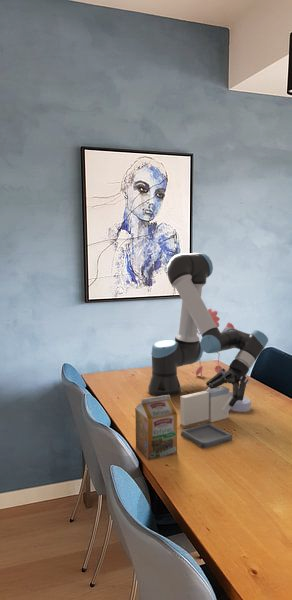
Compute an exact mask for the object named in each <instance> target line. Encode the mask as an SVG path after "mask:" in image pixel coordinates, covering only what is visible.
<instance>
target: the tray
mask: <svg viewBox="0 0 292 600" xmlns="http://www.w3.org/2000/svg"><path fill="white" fill-rule="evenodd" d="M180 436H182V437H184V438H185V439H187V440H188V441H190V442H192V443H193V444H195V445H197V446H198V447H200V448H202V449H203V450H204V449H207V448H210V447H214V446H217V445H220V444H223V443H226V442H227V443H228V442H229V441H233V434H231V433H229V432H228V431H225V430H224V429H222V428H220V427H218V426H216V425H214V424H212V423H211V422H208V423H204V424H200V425H197V426H193V427H189V428H186V429H181V433H180Z"/></svg>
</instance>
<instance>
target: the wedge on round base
mask: <svg viewBox="0 0 292 600" xmlns="http://www.w3.org/2000/svg"><path fill="white" fill-rule="evenodd" d="M231 396H232V397H233V391H232V392H230V391H229V398H230V397H231ZM251 401H252V400H251V399H250V398H248V397H245V396H244V397H243V400H242V401H241V400H238V401H236V403H235V404H234V406H233V407H231V409H230V411H233V412H237V413H239V412H240V413H241V412H243V413H244V412H248V411H251V409H252V408H251Z"/></svg>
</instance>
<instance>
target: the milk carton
mask: <svg viewBox="0 0 292 600" xmlns="http://www.w3.org/2000/svg"><path fill="white" fill-rule="evenodd" d="M134 412H135V448H136V449H137V450H138V452H140V454H141V455H142V456H143V457H144V458H145V459H146V460H147V461H152V460H157V459H158V460H159V459H163V458H166V457H171V456H177V455H178V413H177V409H176V408H175V406H174V403H173V402H172V399H171V396H170V395H164V396H153V397H151V396H150V397H147V398H145V397H144V398H142V399H141V400H140V403H139V404H137V405H136V407H135V411H134Z"/></svg>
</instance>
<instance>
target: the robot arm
mask: <svg viewBox="0 0 292 600" xmlns="http://www.w3.org/2000/svg"><path fill="white" fill-rule="evenodd" d="M213 269H214V265H213V262H212V260H211V258H210V256H208V254H206V253H203V252H202V253H201V252H200V253H199V252H193V253H190V252H189V253H178V254H177V253H176V254H175V255H174V256H172V257H171V258H170V260H169V262H168V264H167V269H166V273H167V278H168V281H169V283H170V285H171V287H172V288H174V289H176V292H177V293H178V295H179V296H180V299H181V309H180V310H181V311H180V318H179V329H178V333H177V334H175V337H174V340H171V339H165V340H159V341H155V342H154V344H152V347H151V377H150V379H149V380H150V381H149V384H148V393H149V394H150V395H153V396H156V397H158V396H164V395H170V397H171V396H176V395H179V394H180V393H181V389H182V388H181V384H180V383H181V382H180V380H179V378H178V369H177V368H180V367H183V366H186V365H187V366H188V365H192V364H194V363H197V362H200V361H201V358H202V356H203V354H204V353H206V354H218V353H220V352H222V351H228V350H233V349H238V350H239V351H238V352H237V354H236V355H235V357H234V359H233V360H232V361H231V362H230V364H229V365H228V366H229V368H228V370H226V369H225V368H223V367H222V370H221V371H220V372H219V373H216V374H215V375H214V376H212V377H211V378H210V379H209V380H207V381H206V382H205V385H206V386H207V388H206V389H205V390H208V389H213V388H217V387H221V386H222V385H224V384H231V385H232V392H233V397H232V396H231V397H230V398H229V400H228V401H227V403H226V404H225V406H224V407H223V409H222V411H223V412H224V413H225V414H227V413H228V412H230V411H231V407H233V406H234V404H235V403H236V401H238V400H241V401H242V400H243V397H245V391H246V388H247V384H248V382H249V378H248V377H247V374H248V373H249V371H250V369H251V368H252V367H253V365H254V364H255V362H256V360H257V359H258V357H259V356H260V355H261V353H262V352H263V351H264V350H265V348H266V346H267V344H268V342H269V338H268V336H267V335H266V334H265V333H264V332H262V331H260V330H257V329H255V330H253V331H252V332H251V333H246V332H244V331H241V330H238V329H237V328H235V327H234V328H227V327H226V329H225V330H224V329H223V330H222V331H223V332H222V331H220V329H219V327H217V326H216V324H215V322H214V320H213V319H212V317H211V315H210V313H209V311H208V308H207V306H206V304H205V303H204V301H203V299H202V294H203V293H202V291H203V286H205V285H206V284H207V278H209V277H211V275H212V273H213V271H214V270H213ZM197 330H198V332H199V333H200V334H199V335H201V339H200V337H199V336H198V333H197ZM221 332H222V333H221ZM203 351H204V352H203ZM217 352H218V353H217Z"/></svg>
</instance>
